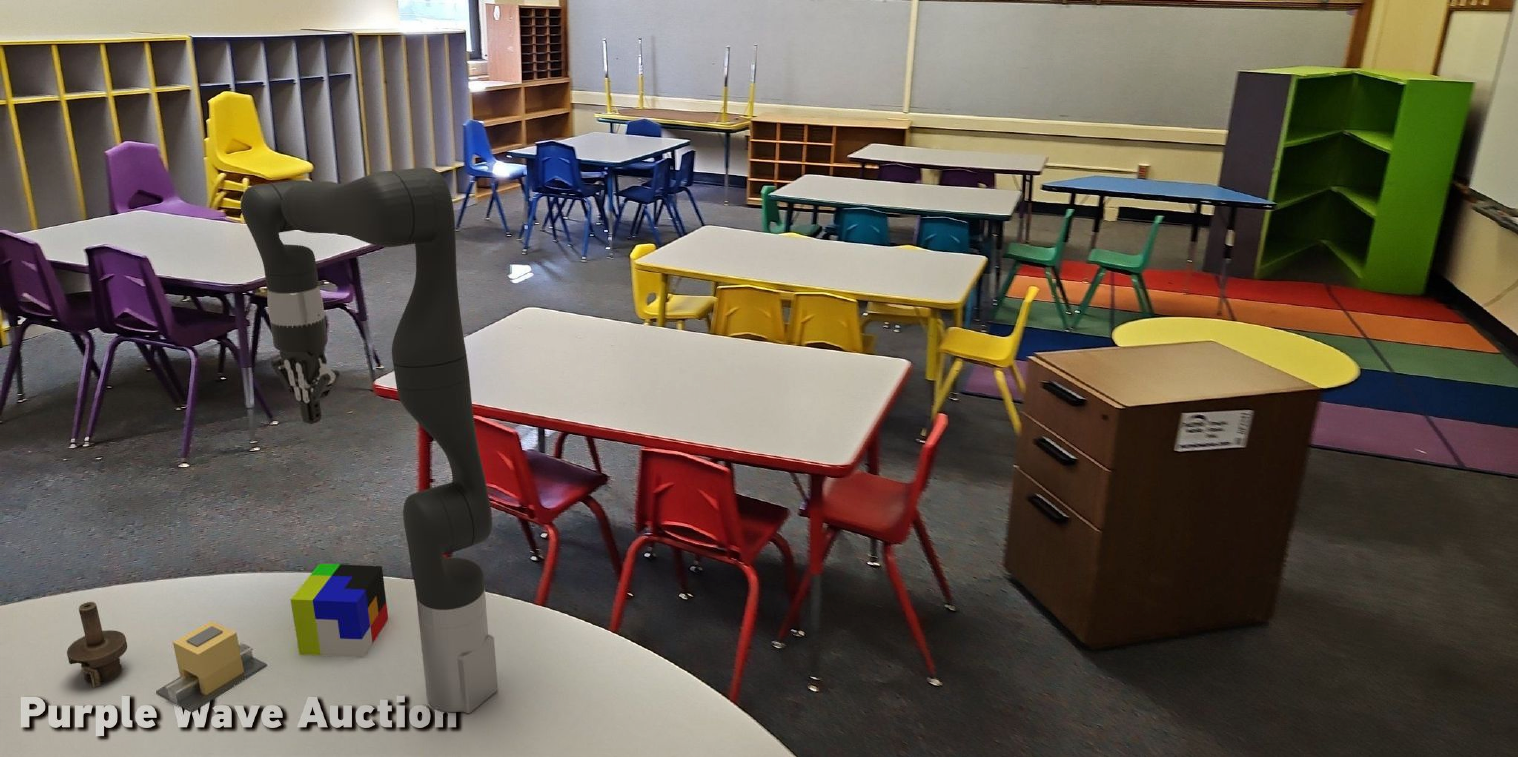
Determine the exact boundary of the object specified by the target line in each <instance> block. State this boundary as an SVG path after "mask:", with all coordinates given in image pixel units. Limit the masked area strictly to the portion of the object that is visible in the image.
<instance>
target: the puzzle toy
mask: <svg viewBox="0 0 1518 757" xmlns="http://www.w3.org/2000/svg"><path fill="white" fill-rule="evenodd" d="M290 605H291V612H292V618H293V625H294V630H295V637H296V642H297V647H298V654H299V655H300V656H301V655H304V656H325V657H326V656H327V657H348V658H349V657H352V658H353V657H355V658H365V657H366V655H367V653H368V652H369V650H370V649H371V647H372V646H373V644H374V643H375V641H376V640H377V638H378V637H379V634H380V632H382V630H383V628H384V626H385V625H386V623H387V622H388V620H389V614H388V613H389V612H388V604H387V595H386V589H385V581H384V573H383V566H381V565H380V566H379V565H365V564H364V565H362V564H361V565H359V564H358V565H357V564H336V563H335V564H334V563H333V564H332V563H319V564H318V565H317V566H316V567H315V568H314V570H313V571H312V572H311V574H309V575H308V577H307V578H306V579H305V581H304V582H303V583H302V584H301V586H300V587H299V588H298V589H297V591H296V592H295V593H294V594H293V595H292V596H291V598H290Z"/></svg>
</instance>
